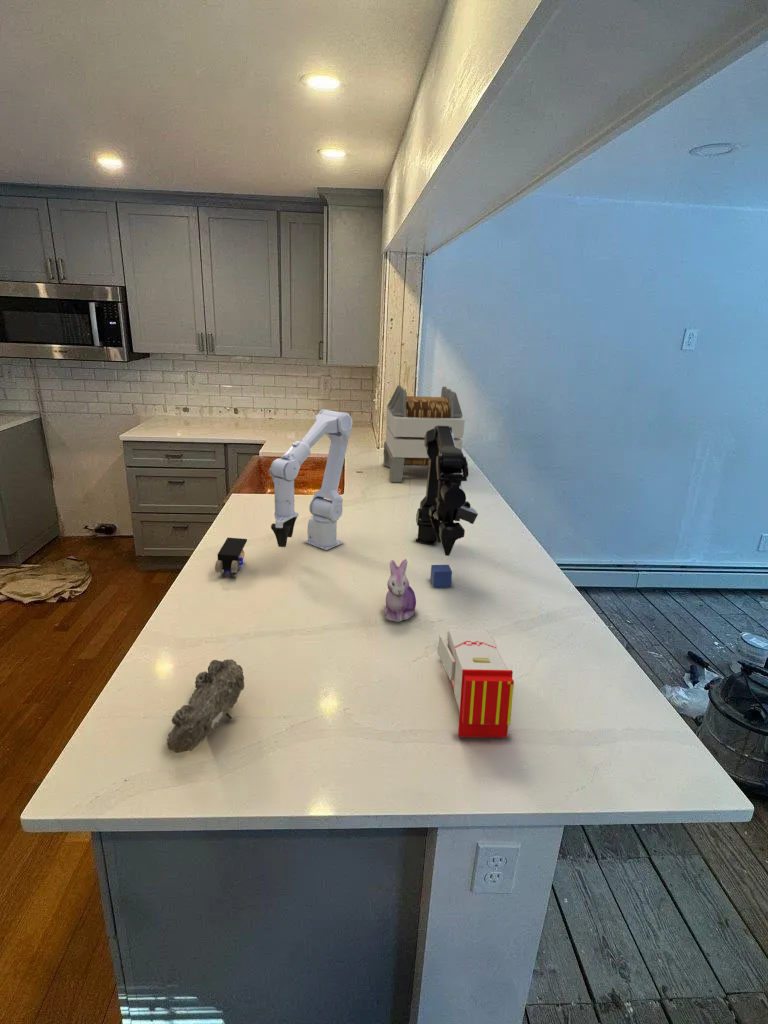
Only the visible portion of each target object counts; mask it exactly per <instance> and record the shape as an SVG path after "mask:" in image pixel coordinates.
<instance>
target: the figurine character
mask: <svg viewBox="0 0 768 1024" xmlns="http://www.w3.org/2000/svg"><path fill="white" fill-rule="evenodd" d="M247 542H248V538H240V537H226V539H225V541H224V543H223V544H222V546H221V547H220V549H219V551H218V552H217V560H216V562H215V564H214V572H215V573H221V577H222V578H224V577H225V576H226V574H227V573H230V574H231V573H232V574H231V578H234V577H235V575H236V573H237V572H239V571H240V567H242V566H243V565H244V564H245V562H244V558H245V551H244V547H245V546H246V544H247Z"/></svg>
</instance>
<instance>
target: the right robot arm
mask: <svg viewBox="0 0 768 1024" xmlns="http://www.w3.org/2000/svg"><path fill="white" fill-rule="evenodd" d="M424 446H425V447H426V451H427V455H428V456H429V458H430V459H429V465H428V469H427V470H428V471H427V480H426V490H425V495H424V497H423V498H422V499H421V500H420V502H419V508H417V510H416V513H415V514H416V515H415V524H416V526H417V538H416V539H415V542H417V543H421V544H425V545H430V546H435V544H436V543H439V544H441V547H442V549H443V553H444V556H446V557H449V556H450V555H451V552H452V550H453V548H454V546H455V543H456V541H457V540H460V539H462V538H464V537H465V533H466V532H465V531H466V529H465V528H464V527H463V525H462V524H461V523H460V521H461V520H462V521H465V522H468V524H471V525H473V524H474V523H475V522H476V519H477V517H478V516H479V513H478V511H476V509H474V508H473V507H471V503H470V501H467V496H466V493H465V491H464V488H463V487H462V482H467V481H468V477H469V464H468V460H467V457H466V456H465V454H464V453H463V449H462V450H460V449H458V448H456V447H455V443H454V435H453V431H452V427H450V426H439V425H437V426H435V427H434V429H431V430H429V431H427V432H426V435H425V439H424ZM454 473H458V474H454Z"/></svg>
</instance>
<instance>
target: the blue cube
mask: <svg viewBox="0 0 768 1024" xmlns="http://www.w3.org/2000/svg"><path fill="white" fill-rule="evenodd" d="M452 579H453V570H452V569H451V567H450V564H431V565H430V579H429V580H430V583H431V585H432V588H451V587H452Z"/></svg>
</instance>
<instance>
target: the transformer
mask: <svg viewBox="0 0 768 1024" xmlns="http://www.w3.org/2000/svg"><path fill="white" fill-rule="evenodd" d="M440 393H441V394H440V396H415V395H414V396H413V395H412V396H411V395H407V394H408V393H407V390H406V389H404V388H403V387H402V385H399V384H398V385H397V386H396V388H395V390H394V392H393V394H392V395H391V398H390V400H389V402H388V404H387V405H386V413H385V414H386V415H385V423H386V428H385V438H384V442H383V466H384V467H388V468H389V475H388V476H389V477H388V478H389V480H390V482H391V483H402V482H403V475H404V469H405V466H406V467H407V466H411V467H412V466H413V467H415V466H416V467H417V466H418V467H429V459H430V458H429V456H428V455H427V451H426V447H425V446H424V439H425V435H426V432H427V431H429V430H431V429H434V427H435V426H437V425H439V426H450V427H452V431H453V435H454V443H455V447H456V448H458V449H460V450H462V451H463V442H464V441H463V440H462V439H463V438H464V431H465V430H464V429H465V419H464V418H463V411H462V408H461V405H460V402H459V398H458V395H457V392H455V391H453V390H452V389H451V388H447V386H442V387H441V392H440ZM454 474H458V473H454Z"/></svg>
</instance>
